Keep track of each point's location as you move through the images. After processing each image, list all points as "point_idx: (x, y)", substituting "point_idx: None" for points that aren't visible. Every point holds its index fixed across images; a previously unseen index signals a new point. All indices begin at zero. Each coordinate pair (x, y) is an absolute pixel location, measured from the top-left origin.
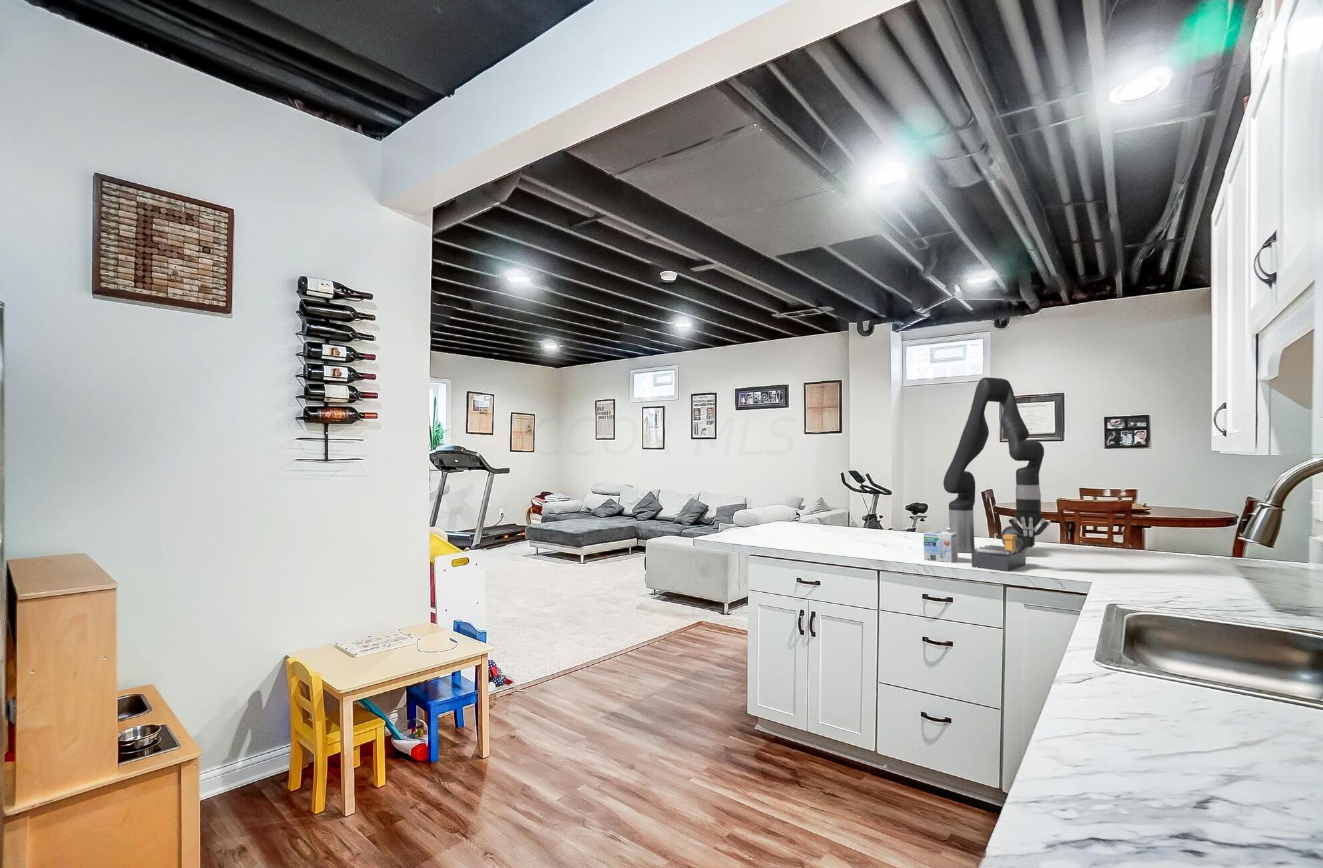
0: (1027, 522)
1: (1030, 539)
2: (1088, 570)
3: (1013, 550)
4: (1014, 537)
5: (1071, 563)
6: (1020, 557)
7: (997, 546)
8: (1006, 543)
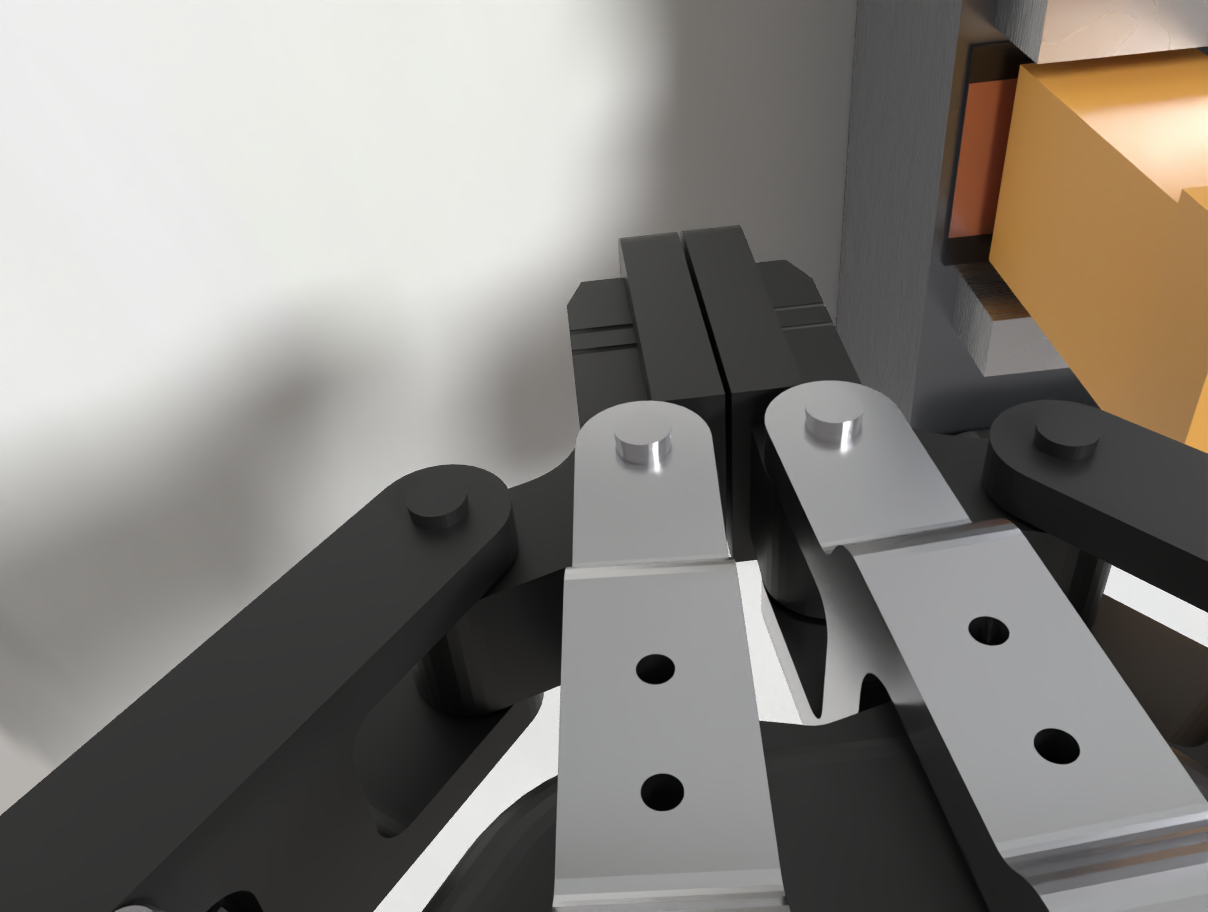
0: (886, 880)
1: (644, 348)
2: (95, 619)
3: (1030, 155)
4: (1163, 360)
5: (473, 821)
6: (888, 316)
7: None
8: None
